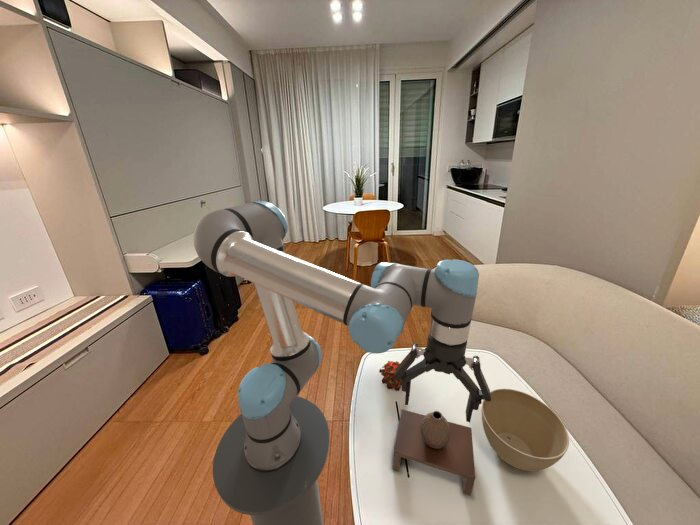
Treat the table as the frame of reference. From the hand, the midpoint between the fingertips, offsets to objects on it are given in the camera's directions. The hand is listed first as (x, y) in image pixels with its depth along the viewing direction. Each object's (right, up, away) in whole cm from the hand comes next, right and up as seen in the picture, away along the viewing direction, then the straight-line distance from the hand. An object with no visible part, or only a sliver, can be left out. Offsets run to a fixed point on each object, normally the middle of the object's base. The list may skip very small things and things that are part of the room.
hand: (436, 408), depth 62 cm
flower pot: (+22, -15, +7) cm, 28 cm away
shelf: (+1, -16, +7) cm, 18 cm away
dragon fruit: (-5, -7, +29) cm, 31 cm away
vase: (+1, -10, +4) cm, 11 cm away
